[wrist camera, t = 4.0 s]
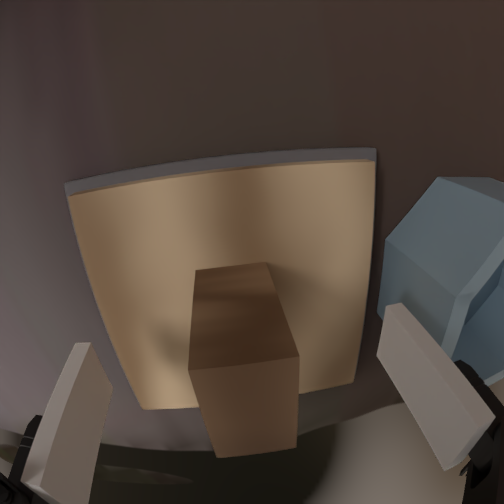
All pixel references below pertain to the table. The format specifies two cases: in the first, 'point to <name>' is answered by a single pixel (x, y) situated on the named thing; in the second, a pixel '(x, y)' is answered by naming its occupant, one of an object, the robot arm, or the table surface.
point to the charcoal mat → (219, 163)
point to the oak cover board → (221, 233)
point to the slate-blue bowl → (453, 270)
